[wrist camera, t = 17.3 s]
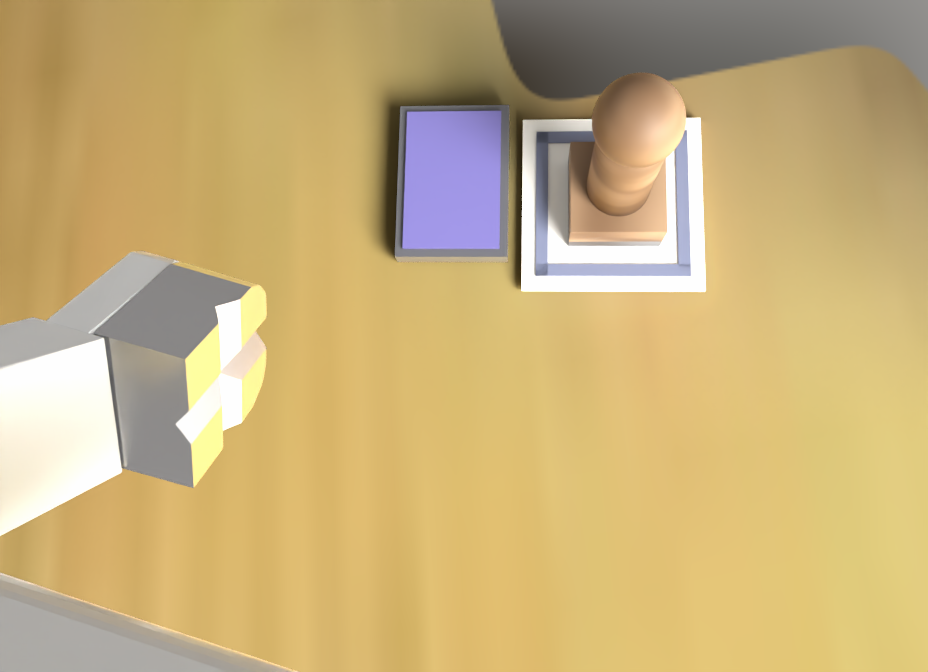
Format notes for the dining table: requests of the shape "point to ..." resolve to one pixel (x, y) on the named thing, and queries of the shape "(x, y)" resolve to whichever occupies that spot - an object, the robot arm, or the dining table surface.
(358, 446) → the dining table surface
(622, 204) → the stamp
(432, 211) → the ink pad
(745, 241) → the dining table surface
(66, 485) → the robot arm
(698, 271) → the print sheet
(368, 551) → the dining table surface
